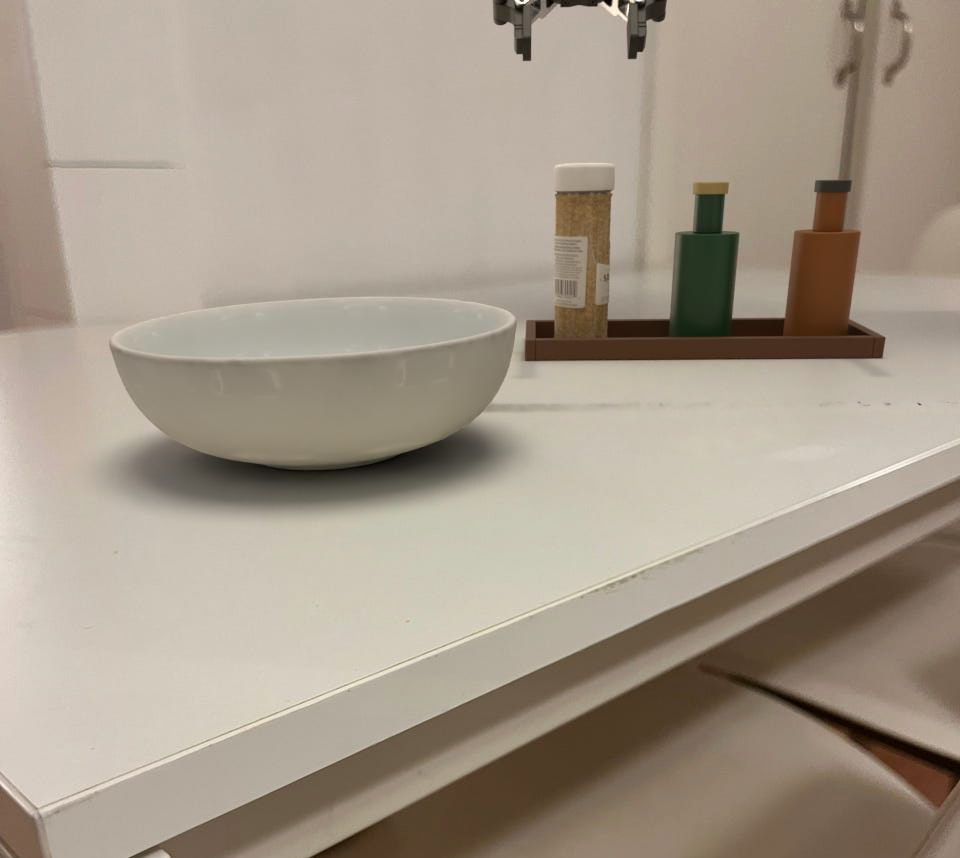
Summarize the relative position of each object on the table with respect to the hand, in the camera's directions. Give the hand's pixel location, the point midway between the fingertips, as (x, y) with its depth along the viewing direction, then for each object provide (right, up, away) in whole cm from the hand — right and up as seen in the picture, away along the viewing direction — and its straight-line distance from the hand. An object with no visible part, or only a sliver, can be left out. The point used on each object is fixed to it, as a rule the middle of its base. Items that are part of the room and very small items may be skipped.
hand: (580, 51), depth 81 cm
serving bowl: (-17, -37, -25) cm, 48 cm away
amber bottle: (+18, -24, -1) cm, 30 cm away
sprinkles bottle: (0, -24, 0) cm, 24 cm away
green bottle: (+9, -24, -1) cm, 26 cm away
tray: (+9, -25, 0) cm, 26 cm away
